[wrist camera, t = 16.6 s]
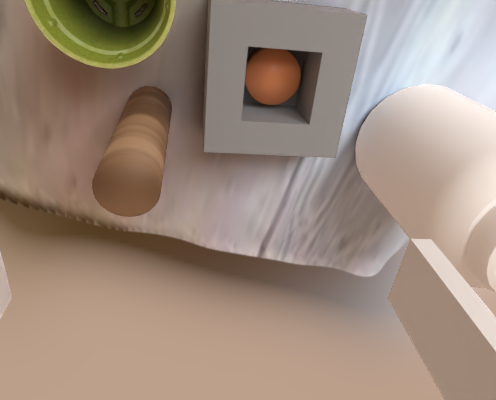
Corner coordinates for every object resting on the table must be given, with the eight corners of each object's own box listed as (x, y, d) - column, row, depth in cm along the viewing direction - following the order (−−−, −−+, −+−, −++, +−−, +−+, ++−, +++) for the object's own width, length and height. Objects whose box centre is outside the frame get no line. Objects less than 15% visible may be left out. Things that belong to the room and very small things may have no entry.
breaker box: (208, -6, 34) (211, -1, 30) (344, 8, 36) (367, 15, 31) (202, 129, 40) (203, 152, 35) (319, 135, 42) (335, 157, 37)
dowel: (127, 84, 37) (89, 157, 23) (171, 88, 38) (160, 160, 24) (129, 126, 39) (95, 215, 25) (171, 128, 40) (160, 217, 26)
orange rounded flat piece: (245, 42, 36) (248, 45, 35) (300, 46, 37) (304, 50, 36) (240, 97, 39) (242, 103, 37) (291, 100, 40) (295, 106, 38)
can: (440, 54, 39) (633, 126, 22) (481, 148, 45) (659, 262, 28) (330, 131, 42) (427, 249, 25) (383, 210, 48) (490, 349, 31)
